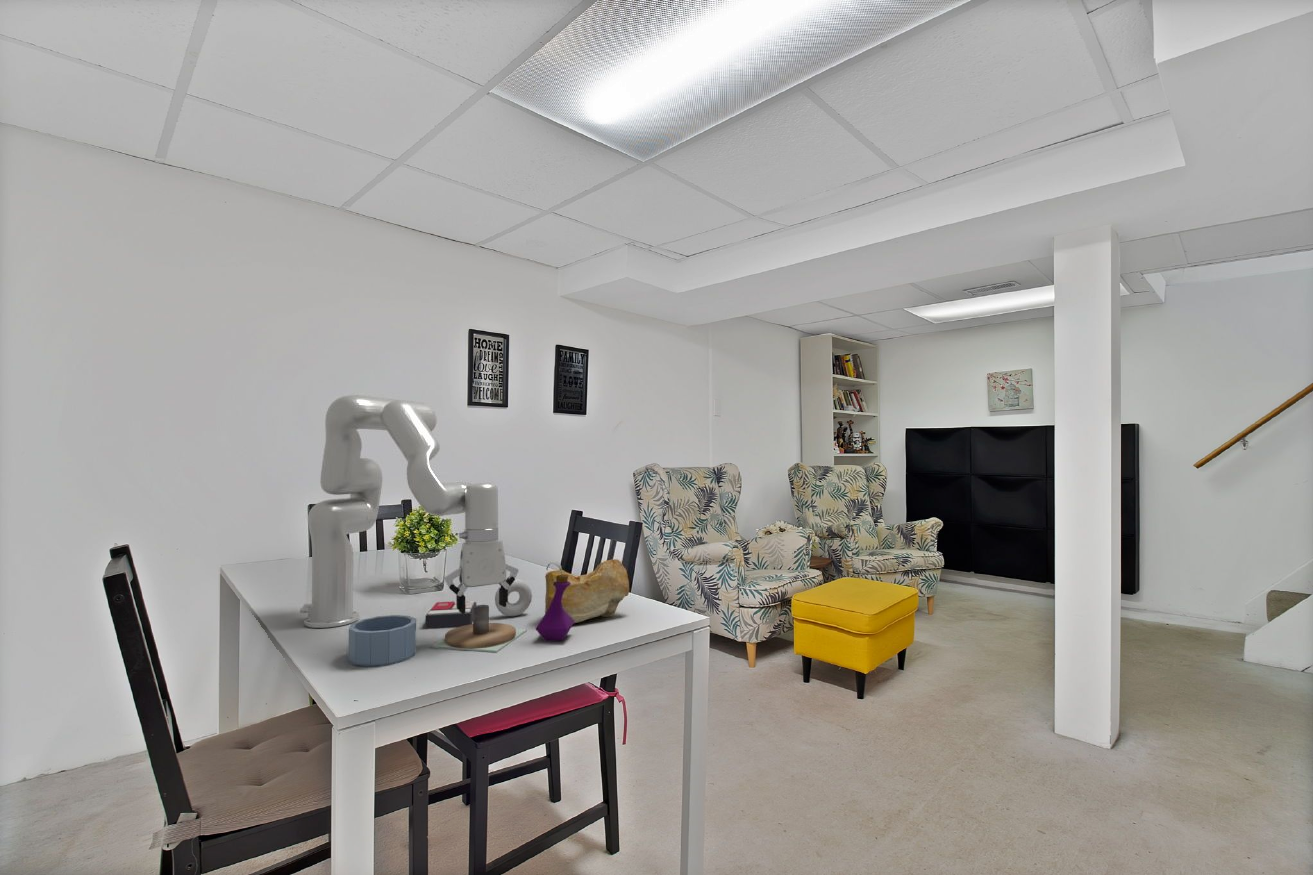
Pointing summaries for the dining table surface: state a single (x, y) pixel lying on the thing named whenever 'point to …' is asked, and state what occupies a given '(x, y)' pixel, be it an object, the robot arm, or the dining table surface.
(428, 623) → the flat rectangular box
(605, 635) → the dining table surface
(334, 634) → the dining table surface
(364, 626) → the bowl
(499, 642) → the lid
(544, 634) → the perfume bottle
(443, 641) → the mat
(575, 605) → the rough brown rock
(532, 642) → the dining table surface
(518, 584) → the donut
